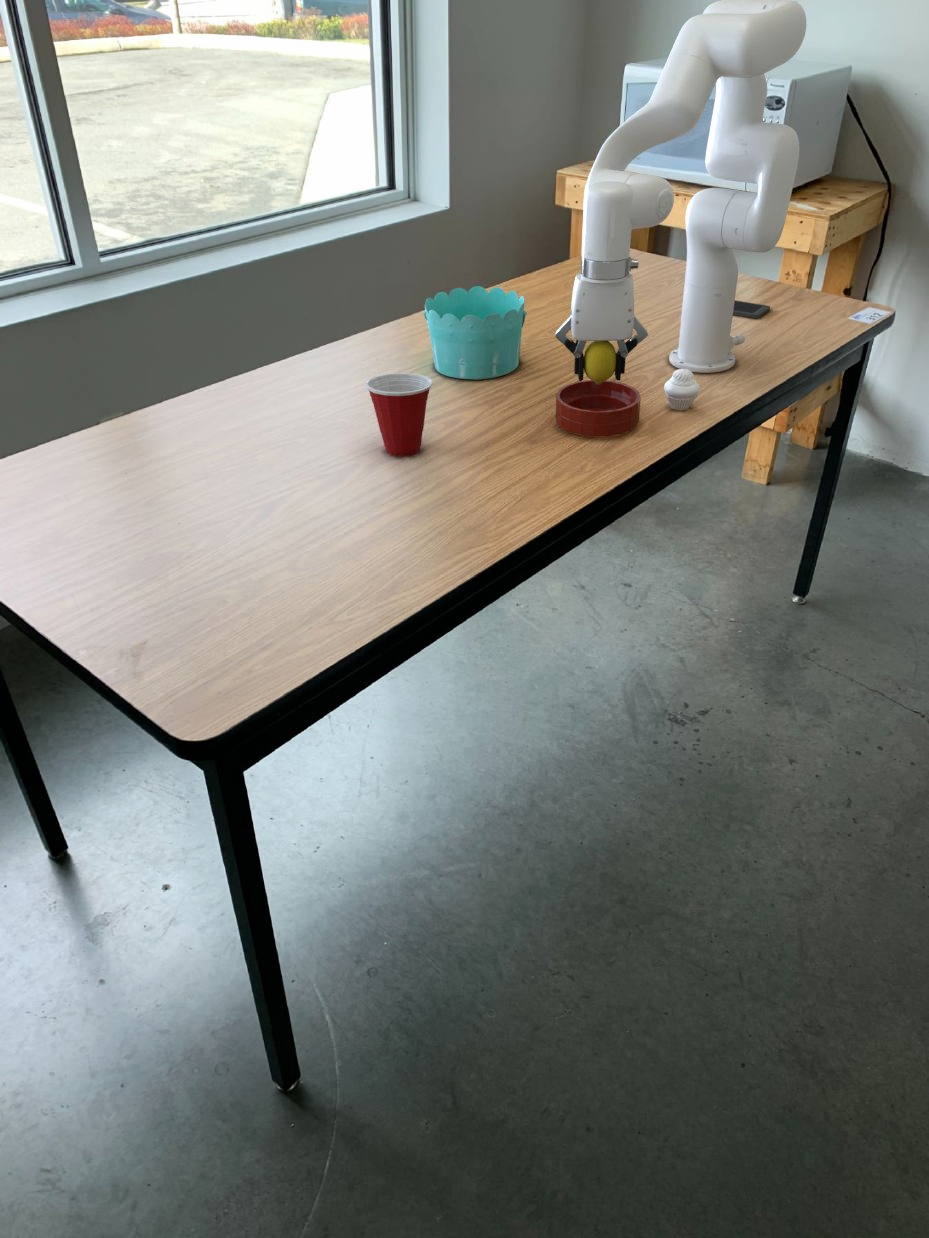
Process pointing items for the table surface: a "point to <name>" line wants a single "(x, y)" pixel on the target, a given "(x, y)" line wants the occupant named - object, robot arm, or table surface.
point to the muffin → (681, 389)
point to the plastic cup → (400, 410)
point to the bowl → (597, 408)
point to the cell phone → (749, 309)
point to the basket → (475, 332)
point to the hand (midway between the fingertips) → (598, 376)
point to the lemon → (600, 361)
